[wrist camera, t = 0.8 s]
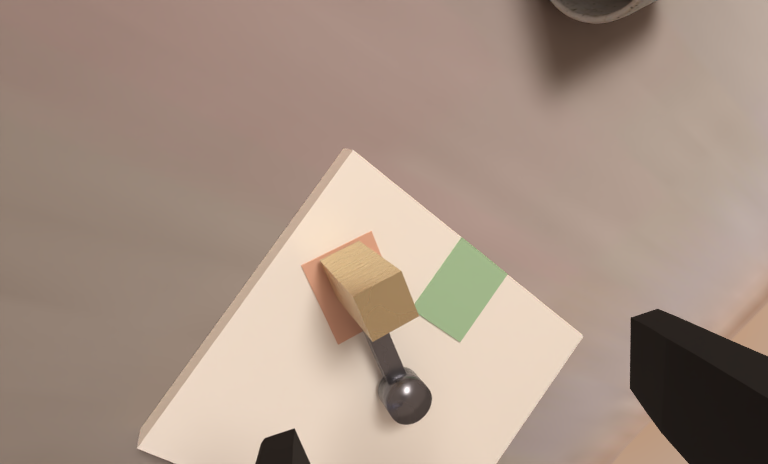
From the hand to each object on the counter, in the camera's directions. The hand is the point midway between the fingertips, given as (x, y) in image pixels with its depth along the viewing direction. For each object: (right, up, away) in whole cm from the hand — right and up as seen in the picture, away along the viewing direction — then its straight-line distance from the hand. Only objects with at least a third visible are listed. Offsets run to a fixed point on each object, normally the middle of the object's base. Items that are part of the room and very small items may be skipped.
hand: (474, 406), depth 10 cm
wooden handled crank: (-2, -1, +14) cm, 14 cm away
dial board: (-2, -4, +17) cm, 17 cm away
